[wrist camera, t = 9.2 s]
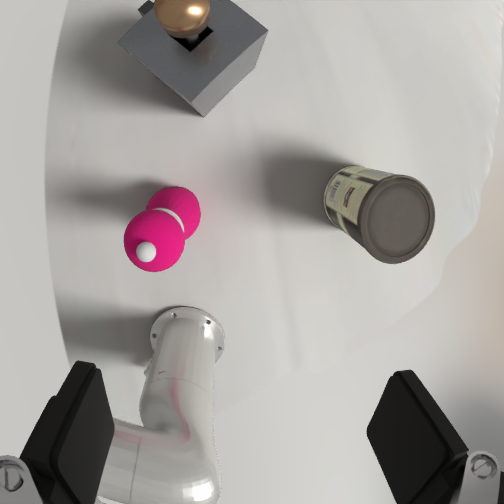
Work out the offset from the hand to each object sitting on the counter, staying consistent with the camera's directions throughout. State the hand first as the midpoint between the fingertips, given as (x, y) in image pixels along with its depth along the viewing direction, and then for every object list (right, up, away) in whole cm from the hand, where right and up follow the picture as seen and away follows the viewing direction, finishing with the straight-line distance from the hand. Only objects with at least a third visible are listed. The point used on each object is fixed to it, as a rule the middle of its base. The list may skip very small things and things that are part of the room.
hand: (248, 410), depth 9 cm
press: (-8, +31, +29) cm, 43 cm away
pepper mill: (-10, +11, +36) cm, 39 cm away
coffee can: (+16, +13, +37) cm, 43 cm away
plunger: (-6, +28, +24) cm, 38 cm away
